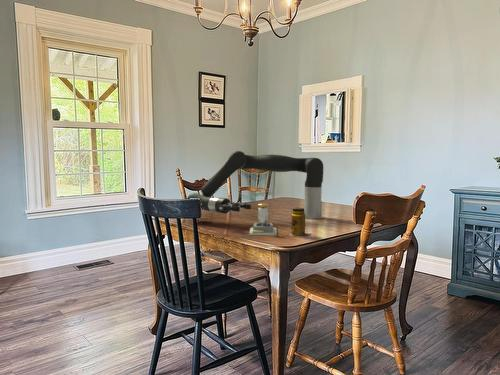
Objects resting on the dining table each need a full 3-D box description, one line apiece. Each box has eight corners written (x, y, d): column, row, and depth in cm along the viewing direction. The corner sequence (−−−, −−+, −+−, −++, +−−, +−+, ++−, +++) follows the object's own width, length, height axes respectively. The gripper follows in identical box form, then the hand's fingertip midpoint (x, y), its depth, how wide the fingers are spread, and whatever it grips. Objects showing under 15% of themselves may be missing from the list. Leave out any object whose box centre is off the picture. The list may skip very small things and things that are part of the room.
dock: (276, 229, 179) (276, 222, 179) (276, 235, 167) (276, 227, 167) (250, 229, 180) (250, 222, 179) (249, 235, 168) (249, 227, 168)
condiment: (287, 235, 169) (287, 208, 167) (297, 232, 175) (298, 206, 174) (301, 237, 164) (301, 210, 163) (311, 234, 170) (312, 207, 169)
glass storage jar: (268, 229, 176) (268, 203, 175) (268, 231, 171) (268, 204, 170) (257, 229, 176) (258, 203, 175) (257, 231, 171) (257, 204, 170)
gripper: (209, 199, 183) (235, 201, 174) (228, 196, 195) (254, 198, 185) (209, 214, 184) (235, 218, 174) (228, 210, 195) (254, 213, 186)
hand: (245, 208), depth 180 cm, fingers open, 8 cm apart
